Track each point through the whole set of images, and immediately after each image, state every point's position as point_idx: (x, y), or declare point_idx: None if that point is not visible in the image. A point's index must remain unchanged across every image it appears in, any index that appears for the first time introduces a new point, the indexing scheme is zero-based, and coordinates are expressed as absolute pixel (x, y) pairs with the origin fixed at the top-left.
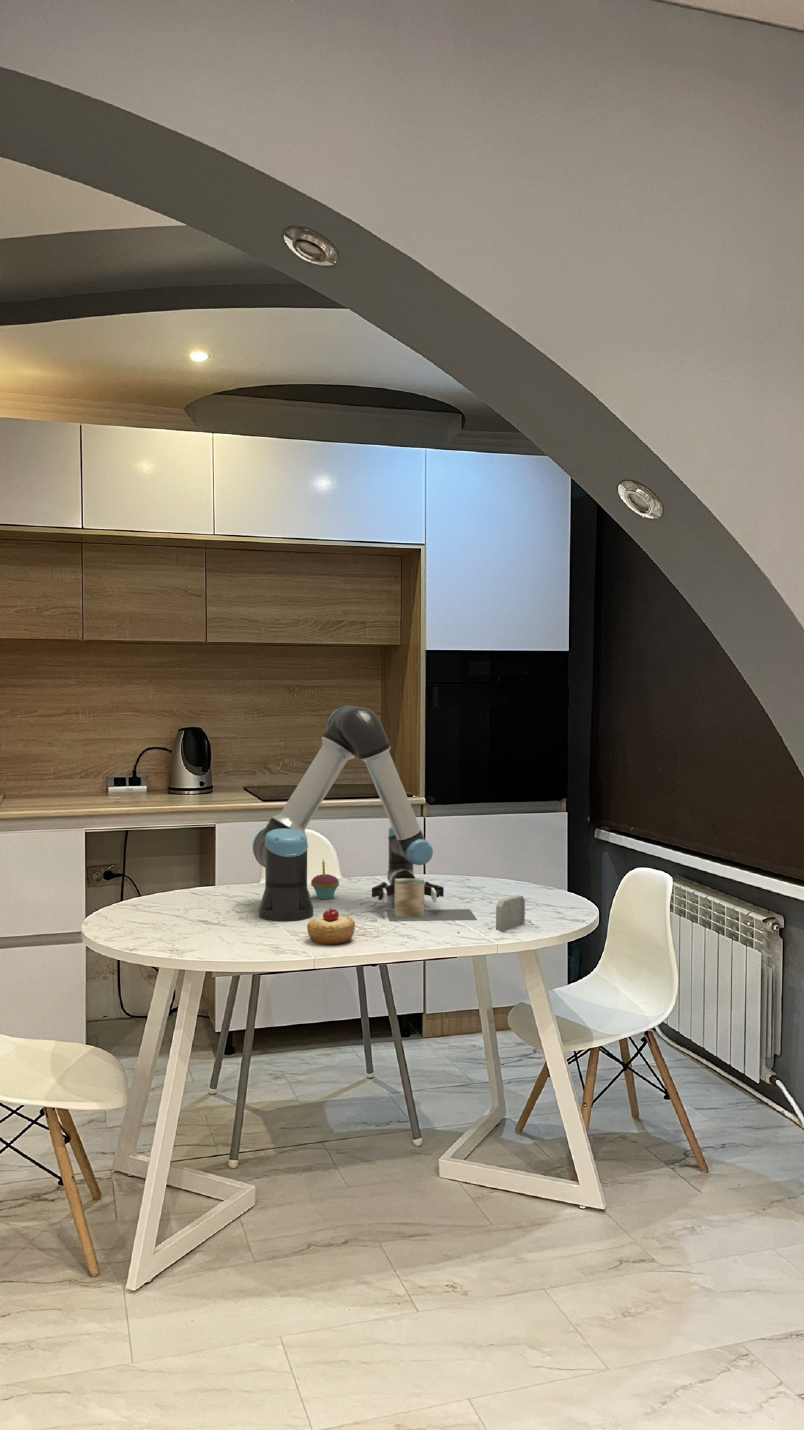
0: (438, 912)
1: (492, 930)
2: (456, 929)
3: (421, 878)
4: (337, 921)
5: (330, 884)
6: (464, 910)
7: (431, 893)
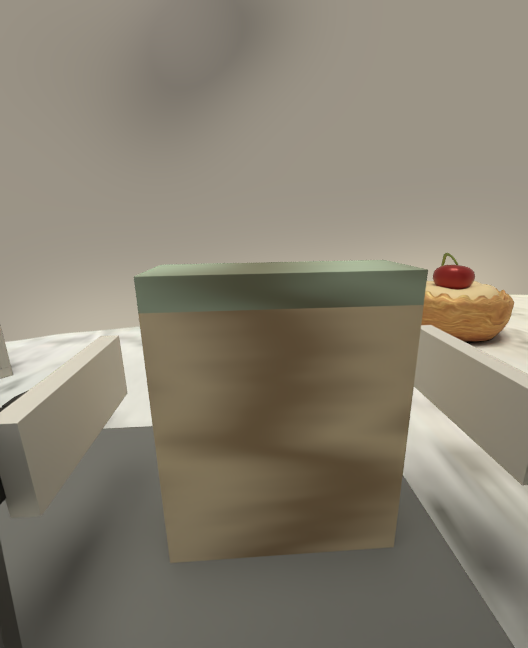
0: None
1: (23, 374)
2: (126, 379)
3: (156, 275)
4: None
5: None
6: None
7: (53, 446)
